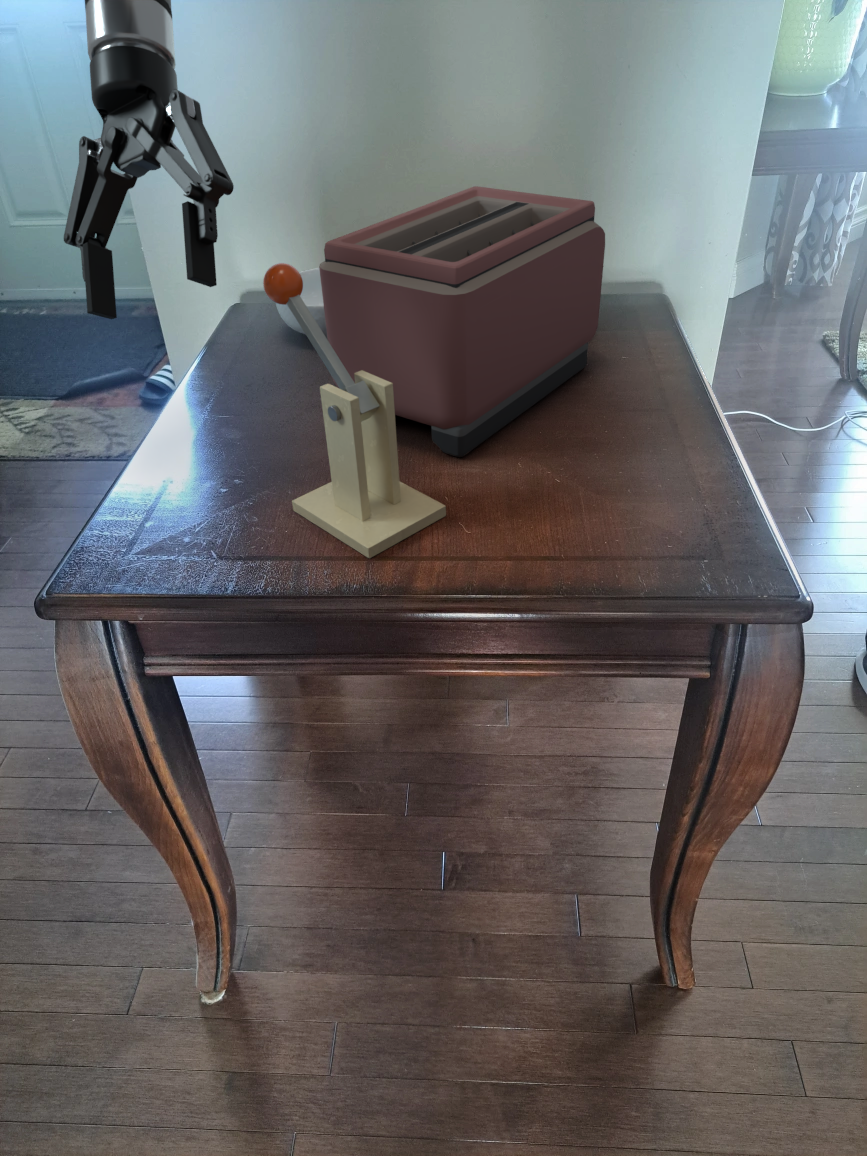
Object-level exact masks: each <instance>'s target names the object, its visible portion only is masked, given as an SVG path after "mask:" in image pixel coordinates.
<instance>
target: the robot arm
mask: <svg viewBox="0 0 867 1156" xmlns="http://www.w3.org/2000/svg"><path fill="white" fill-rule="evenodd" d="M84 8H85V9H84V10H85V26H86V42H87V55H88V57H89V61H90V62H89V76H90V91H91V102H92V104H93V106H94V108H95V110H96V111H97V112H98V114H99V116H100V118H101V120H102V130H101V135H100V137H98V138H94V139H91V138H89V137H87V136H85V135H83V136H81V137H80V139H79V142H78V166H77V171H76V174H75V175H76V176H75V180H74V185H73V190H72V195H71V200H70V204H69V208H68V214H67V219H66V223H65V228H64V233H63V242H64V243H65V244H66V245H68V246H72V247H75V248H78V249H79V250H80V258H81V259H80V260H81V270H82V271H81V272H82V273H81V274H82V279H83V282H84V285H85V297H86V299H85V300H86V311H87V312H86V313H87V314H89V315H92V316H97V317H100V318H104V319H108V320H114V319H117V318H118V316H117V315H118V314H117V301H116V289H115V275H114V261H113V250H111V249H109V248H108V247H107V245H108V242H109V240H110V237H111V234H112V232H113V229H114V226H115V224H116V222H117V219H118V216H119V214H120V212H121V209H122V206H123V204H124V201H125V198H126V197H127V193H128V191H129V190H130V189H133V188H134V187H135V186H136V184H137V181H138V179H139V178H141V177H143V176H145V175H146V174H147V173H148V172H149V171H158V170H159V169H161V168H163V169H164V170H165V171H166V172H167V174H168V175H169V176H170V177H171V178H172V179H173V181H174V182H175V183H176V184H177V185H178V186H179V187H180V189H181V190H182V191H183V192H184V193H183V194H182V196H183V197H186V198H188V199H190V200H192V202H191V201H189V200H187V201H185V202H182V203H181V210H182V211H181V212H182V225H183V226H182V227H183V239H184V253H185V254H184V255H185V268H186V279H187V280H188V281H190V282H194V283H198V284H200V285H203V286H205V287H209V288H213V287H216V286H217V271H216V255H215V243H217V241H218V237H219V235H218V220H217V208H218V206H219V203H220V199H221V198H222V197H223V196H225V195H226V196H230V195H231V194H232V193H233V191H234V189H235V188H234V187H235V185H234V183H233V180H232V178H231V176H230V174H229V172H228V170H227V169H226V167H225V165H224V162H223V160H222V158H221V156H220V155H219V153H218V150H217V148H216V146H215V145H214V142H213V140H212V139H211V137H210V135H209V133H208V131H207V129H206V126H205V125H204V121H203V115H202V108H201V103H200V102H199V101H197V100H196V99H194V98H192V97H190V96H189V95H187V94H185V93H184V92H182V91H180V90H178V89H179V88H178V75H177V72H176V70H175V69H176V53H175V52H176V51H175V38H174V23H173V22H174V21H173V11H172V0H84ZM175 130H177V132H178V134H179V137H180V139H181V140H182V142H183V144H184V146H185V149H186V151H187V153H188V155H189V157H190V159H191V161H192V163H193V165H194V167H195V168H194V167H193V166H192V165H191V164H190V162H189V161H188V160H187V159H186V158H185V154H184V153H183V152H182V151H181V150H180V149H179V148H178V146H177V145H176V144H175V143H174V142H173V135H174V134H175V133H174V132H175ZM113 164H114V166H115V167H116V168H117V170H119V171H120V172H119V171H116V170H114V169H112V166H113ZM195 169H196V170H195ZM121 172H123V173H121Z"/></svg>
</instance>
